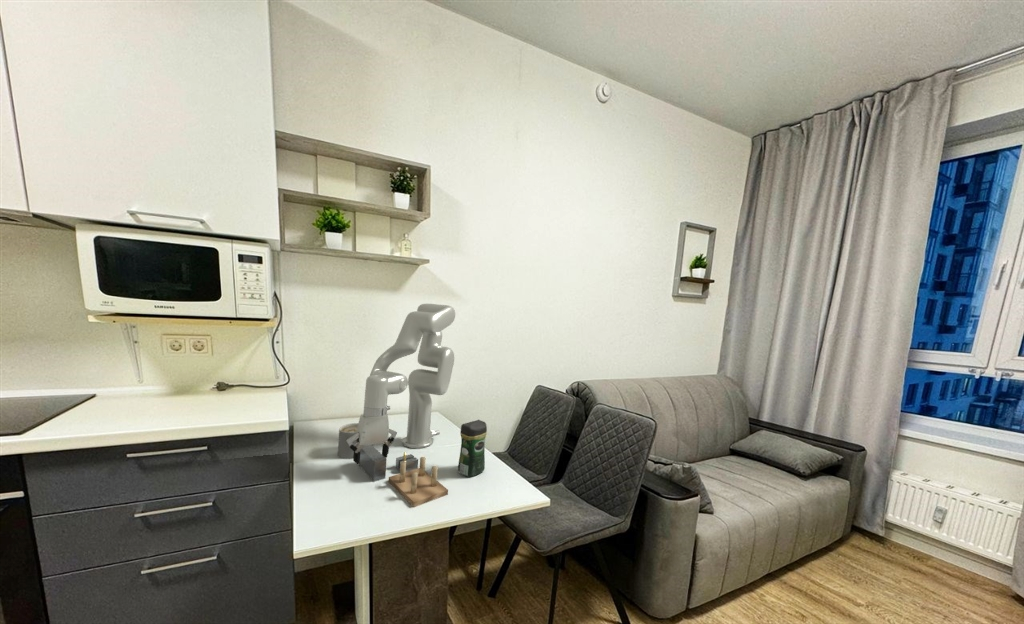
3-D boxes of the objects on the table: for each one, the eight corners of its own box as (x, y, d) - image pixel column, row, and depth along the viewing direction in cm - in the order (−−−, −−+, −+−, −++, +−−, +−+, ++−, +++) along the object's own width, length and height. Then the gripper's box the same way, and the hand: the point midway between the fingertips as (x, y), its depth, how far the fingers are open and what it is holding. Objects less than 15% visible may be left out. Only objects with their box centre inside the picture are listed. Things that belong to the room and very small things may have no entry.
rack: (420, 471, 126) (422, 451, 126) (447, 494, 113) (449, 471, 113) (388, 481, 118) (389, 459, 118) (413, 507, 105) (415, 482, 105)
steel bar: (369, 462, 130) (370, 444, 130) (385, 478, 120) (386, 458, 120) (358, 465, 127) (359, 446, 127) (373, 482, 117) (374, 461, 117)
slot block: (410, 463, 132) (411, 447, 132) (417, 468, 128) (418, 452, 128) (395, 467, 128) (396, 451, 128) (402, 473, 124) (403, 456, 124)
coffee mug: (345, 461, 130) (347, 434, 129) (332, 452, 135) (334, 427, 135) (378, 450, 140) (380, 426, 140) (365, 443, 146) (366, 419, 146)
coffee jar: (473, 463, 135) (476, 416, 135) (487, 471, 130) (491, 422, 129) (453, 471, 128) (457, 421, 128) (467, 480, 123) (471, 428, 122)
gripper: (394, 405, 131) (390, 450, 131) (345, 411, 120) (341, 461, 120) (403, 410, 126) (399, 457, 126) (353, 417, 114) (348, 469, 114)
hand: (370, 459), depth 123 cm, fingers open, 9 cm apart
